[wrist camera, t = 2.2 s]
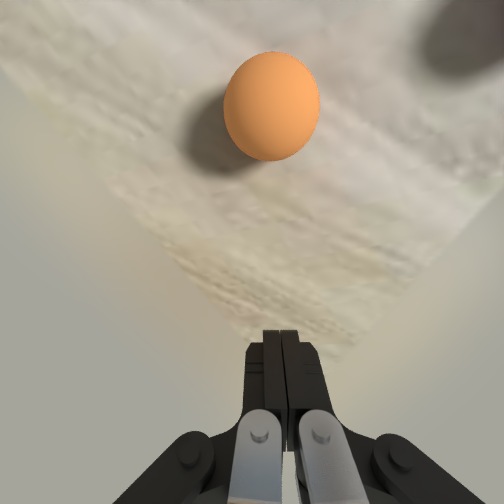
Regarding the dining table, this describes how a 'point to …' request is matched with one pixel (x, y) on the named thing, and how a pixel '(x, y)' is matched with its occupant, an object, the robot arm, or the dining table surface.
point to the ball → (271, 106)
